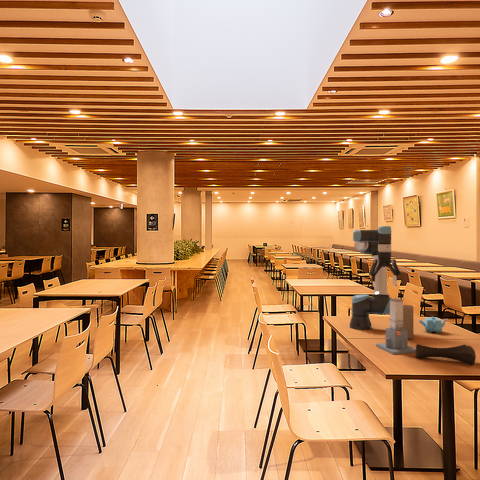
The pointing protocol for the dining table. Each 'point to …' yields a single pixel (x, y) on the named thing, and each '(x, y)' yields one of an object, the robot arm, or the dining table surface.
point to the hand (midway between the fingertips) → (384, 286)
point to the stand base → (396, 342)
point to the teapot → (433, 324)
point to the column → (396, 314)
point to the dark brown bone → (448, 353)
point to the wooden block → (408, 320)
